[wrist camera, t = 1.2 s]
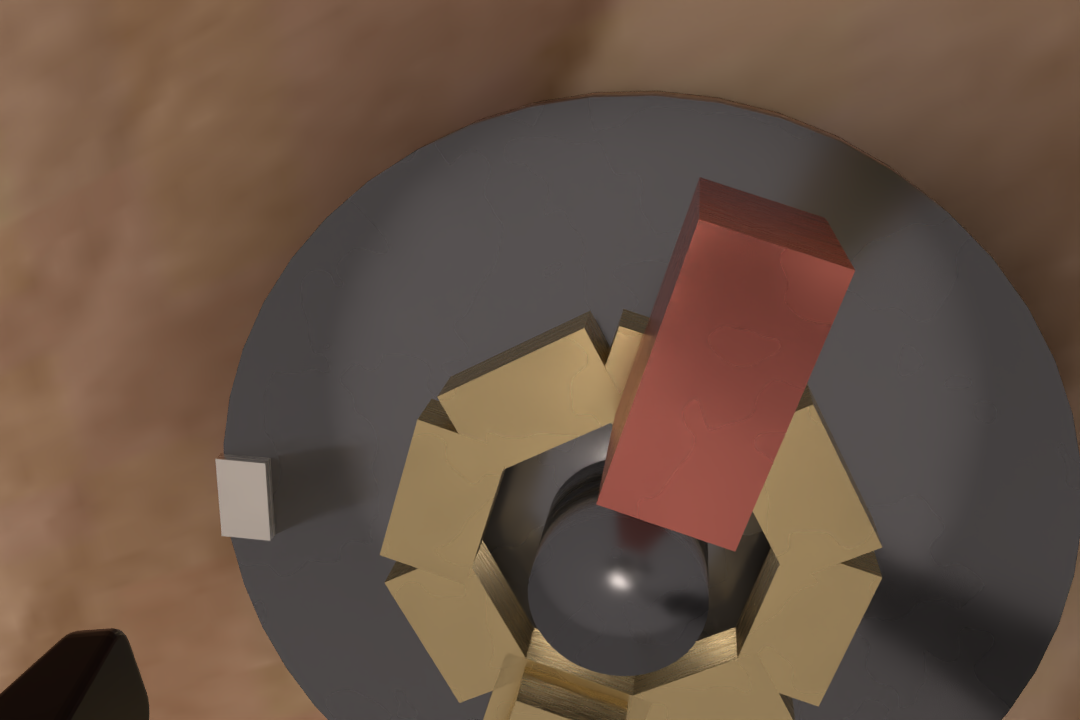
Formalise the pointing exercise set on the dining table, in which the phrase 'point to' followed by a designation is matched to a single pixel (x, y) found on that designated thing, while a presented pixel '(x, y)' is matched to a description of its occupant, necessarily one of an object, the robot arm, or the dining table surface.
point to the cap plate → (577, 466)
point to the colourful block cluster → (657, 477)
